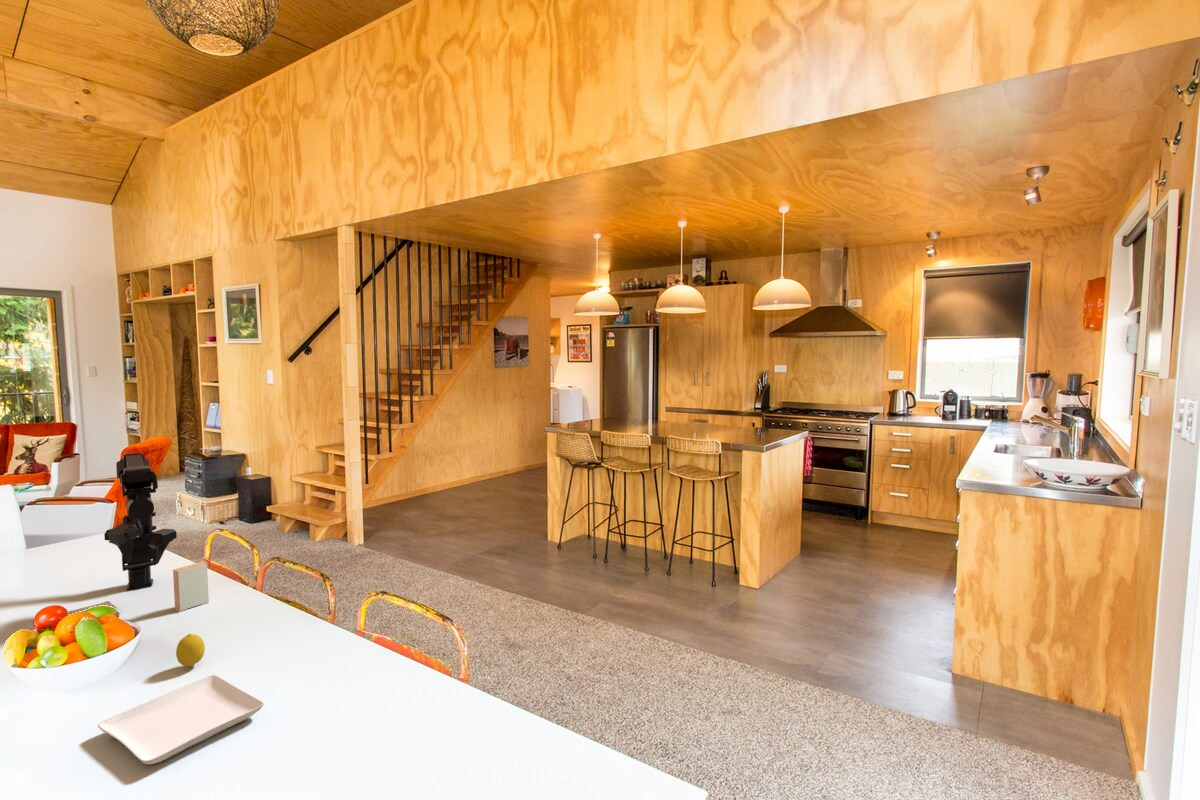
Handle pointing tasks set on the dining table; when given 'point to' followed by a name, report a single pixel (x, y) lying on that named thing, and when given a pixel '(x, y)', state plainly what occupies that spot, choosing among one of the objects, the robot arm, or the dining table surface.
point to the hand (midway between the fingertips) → (142, 563)
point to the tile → (190, 586)
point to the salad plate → (181, 718)
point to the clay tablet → (92, 606)
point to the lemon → (190, 650)
